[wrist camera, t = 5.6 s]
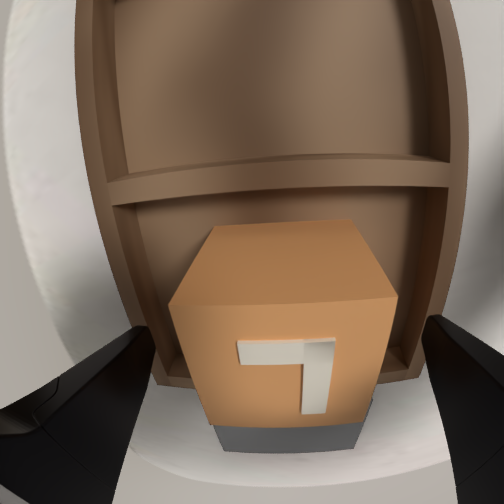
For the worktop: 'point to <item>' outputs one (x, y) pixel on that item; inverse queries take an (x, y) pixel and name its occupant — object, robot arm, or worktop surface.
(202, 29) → the organiser
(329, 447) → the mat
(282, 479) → the worktop surface
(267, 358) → the letter cube
